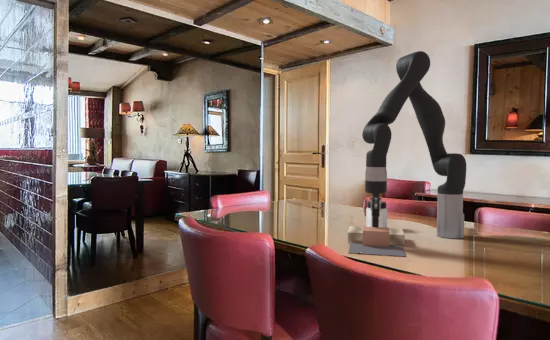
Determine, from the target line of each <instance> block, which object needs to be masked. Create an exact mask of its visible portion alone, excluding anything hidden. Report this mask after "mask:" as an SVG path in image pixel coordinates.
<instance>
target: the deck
mask: <svg viewBox="0 0 550 340" xmlns="http://www.w3.org/2000/svg"><path fill="white" fill-rule="evenodd" d="M348 227H349V228H348V229H347V244H350V243H363V227H364V226H354V225H353V226H350V225H349V226H348ZM388 228H389V232H390V233H389V245H401V246H402V247H405V242H406V241H405V239H406V238H405V236H406V235H405V233H404V230H403V228H401V227H400V228H399V227H398V228H395V227H388Z"/></svg>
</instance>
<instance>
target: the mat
mask: <svg viewBox="0 0 550 340" xmlns="http://www.w3.org/2000/svg"><path fill="white" fill-rule="evenodd" d="M403 247H404V246H401V245H389V247H384V246H366V245H363V243H349V248H348V254H349V253H360V252H361V253H363V254H362V255H365V254H375V255H374V256H381V255H392V256H391V257H397V256H404V257H403V258H407V256H406V253H405V250H404V248H403Z"/></svg>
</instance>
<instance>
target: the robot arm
mask: <svg viewBox="0 0 550 340" xmlns="http://www.w3.org/2000/svg"><path fill="white" fill-rule="evenodd" d="M430 58H431V57H430V56H429V55H428V53H427V52H425V51H423V50H418V51H414V52H411V53H409V54H406V55H403V56H401V57H400V58H399V59H398V60H397V62H396V66H395V69H396V73H397V75H398V79H399V80H400V81H399V82H398V83H397V84H396V85H395V87H393V89H392V90H390V91H389V93H388V94H387V95H386V96H385V98H384V99H383V101H382V103H381V105H380V106H379V108H378V110H377V112H376V113H375V114H374V115H373V116H372V117H371V118H370V119H369V121H368V122H366V124H365V125H364V127H363V130H362V134H361V137H362V140H363V141H364V142H365V143H366V144H370V145H373V147H372V149H371V150H368V151H367V152H366V155H365V156H366V157H365V172H364V174H365V176H364V177H365V179H364V180H365V182H364V191H365V193H366V194H371V195H372V197H369V201H370V203H371V211H372V227H379V216H380V214H379V212H380V211H381V202H382V201H383V200H382V197H380V194H382V195H383V194H386V193H387V191H388V190H387V189H388V184H387V183H388V172H387V155H388V153H389V147H390V144H391V142H392V131H391V127H390V126H389V125H391V124H392V123H394V122H395V121H396V120H397V117H398V116H399V114H400V112H401V111H402V108H403V106H404V105H405V103H406V101H407V100H408V98H409V100H410V103H411V106H412V109H413V111H414V114H415V117H416V119H417V122H418V124H419V126H420V128H421V131H422V135H423V138H424V141H425V143H426V146H427V148H428V152H429V156H430V157H429V158H430V160H431V165H432V167H433V170H434V172H435V173H436V174H437V175H438V176H440V177H446V180H445V182H444V183H442V184H440V185H438V186H437V195H436V196H437V198H436V199H437V202H436V203H437V204H436V206H437V207H436V208H437V209H436V212H437V213H436V236H438V237H439V238H440V237H441V238H446V239H465V213H464V211H463V209H464V189H465V187H466V181H467V180H466V179H467V177H466V176H467V160H466V157H464V155H463V154H461V153H456V152H455V153H452V152H451V153H448V152H447V151H446V147H445V145H444V140H443V139H444V133H445V128H446V119H445V116H444V113H443V111H442V110H443V109H442V107H441V105H440V104H439V102H438V101H437V100H436V99H435V98H434V97H433V96H432V95H430V93H428V92H427V91H426V90H425V88H423V86H422V84H421V81H422V80H423V78H424V77H425V76H426V75H427V73H428V72H429V70H430V67H431V59H430Z"/></svg>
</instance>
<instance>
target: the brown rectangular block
mask: <svg viewBox="0 0 550 340" xmlns="http://www.w3.org/2000/svg"><path fill="white" fill-rule="evenodd" d="M362 227H363V245H366V246H384V247H389V233H390V232H389V228H390V227H387V228H386V227H366V226H362Z"/></svg>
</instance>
